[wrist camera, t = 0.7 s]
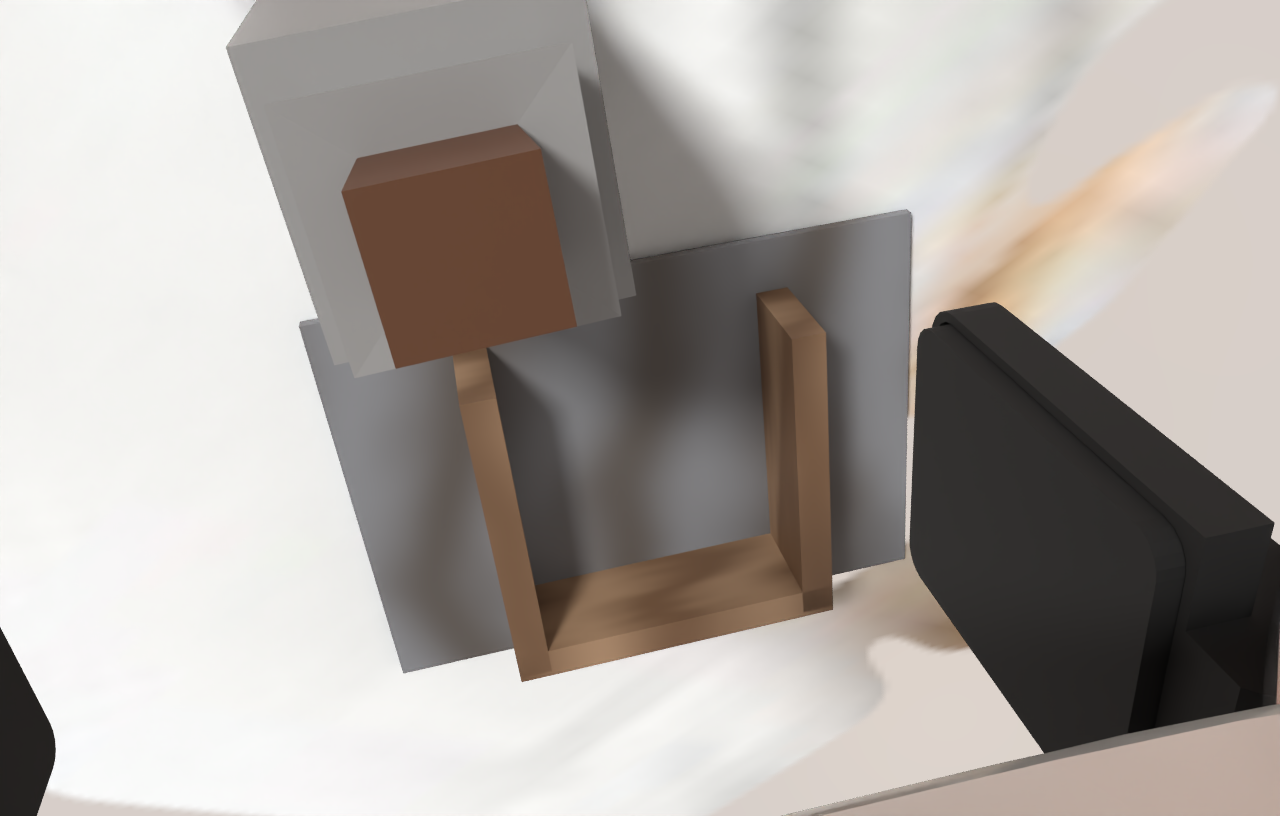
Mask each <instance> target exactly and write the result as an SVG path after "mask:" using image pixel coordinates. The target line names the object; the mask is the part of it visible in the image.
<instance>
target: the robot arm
mask: <svg viewBox="0 0 1280 816" xmlns="http://www.w3.org/2000/svg"><path fill="white" fill-rule="evenodd" d="M913 446H914V447H913V471H912V495H911V521H910V550H911V556H912V559H913V563H914V566H915V568H916V570H917V572H918V574H919V576H920V578H921V579H922V581H923V582H924V583H925V585H926V586H927V588H928V589H929V590H930V592H931V593H932V595H933V596H934V598H935V599H936V600H937V602H938V603H939V605H940V606H941V607H942V609H943V610H944V612H945V613H946V615H947V616H948V617H949V619H950V620H951V622H952V623H953V624H954V626H955V627H956V629H957V630H958V632H959V633H960V634H961V636H962V637H963V639H964V640H965V642H966V643H967V644H968V646H969V647H970V649H971V650H972V651H973V653H974V654H975V655H976V657H977V658H978V660H979V661H980V663H981V664H982V666H983V667H984V668H985V670H986V671H987V673H988V674H989V675H990V677H991V678H992V680H993V681H994V683H995V684H996V685H997V687H998V688H999V690H1000V691H1001V693H1002V694H1003V695H1004V697H1005V698H1006V700H1007V701H1008V702H1009V704H1010V705H1011V707H1012V708H1013V709H1014V711H1015V712H1016V714H1017V715H1018V717H1019V718H1020V720H1021V721H1022V722H1023V724H1024V725H1025V726H1026V728H1027V729H1028V730H1029V732H1030V734H1031V735H1032V737H1033V738H1034V739H1035V741H1036V742H1037V743H1038V745H1039V746H1040V748H1041V749H1042V751H1043V752H1044V754H1040V755H1036V756H1032V757H1027V758H1023V759H1017V760H1013V761H1009V762H1004V763H1000V764H995V765H991V766H987V767H982V768H978V769H974V770H970V771H966V772H962V773H957V774H954V775H949V776H945V777H941V778H937V779H932V780H928V781H924V782H920V783H916V784H912V785H907V786H903V787H899V788H895V789H891V790H887V791H882V792H878V793H874V794H871V795H866V796H862V797H857V798H853V799H849V800H845V801H841V802H837V803H832V804H828V805H824V806H820V807H816V808H811V809H808V810H803V811H799V812H795V813H791V814H787V815H782V816H1280V545H1279V544H1278V543H1276V542H1275V541H1274V540H1272V539H1271V535H1272V531H1273V527H1274V522H1273V521H1271V520H1270V519H1269V518H1268V517H1266V516H1265V515H1264V514H1263V513H1262V512H1260V511H1259V510H1258V509H1257V508H1255V507H1254V506H1253V505H1252V504H1250V503H1249V502H1248V501H1247V500H1245V499H1244V498H1243V497H1241V496H1240V495H1239V494H1238V493H1236V492H1235V491H1234V490H1232V489H1231V488H1230V487H1229V486H1228V485H1226V484H1225V483H1224V482H1223V481H1221V480H1220V479H1219V478H1218V477H1216V476H1215V475H1214V474H1213V473H1211V472H1210V471H1209V470H1207V469H1206V468H1205V467H1204V466H1203V465H1201V464H1200V463H1199V462H1197V461H1196V460H1195V459H1194V458H1192V457H1191V456H1190V455H1189V454H1187V453H1186V452H1185V451H1184V450H1182V449H1181V448H1180V447H1179V446H1177V445H1176V444H1175V443H1174V442H1172V441H1171V440H1170V439H1169V438H1167V437H1166V436H1165V435H1164V434H1162V433H1161V432H1160V431H1159V430H1157V429H1156V428H1155V427H1154V426H1152V425H1151V424H1150V423H1148V422H1147V421H1146V420H1145V419H1143V418H1142V417H1141V416H1140V415H1138V414H1137V413H1136V412H1135V411H1133V410H1132V409H1131V408H1130V407H1128V406H1127V405H1126V404H1124V403H1123V402H1122V401H1121V400H1120V399H1118V398H1117V397H1116V396H1115V395H1113V394H1112V393H1111V392H1110V391H1108V390H1107V389H1106V388H1105V387H1103V386H1102V385H1101V384H1099V383H1098V382H1097V381H1096V380H1094V379H1093V378H1092V377H1090V376H1089V375H1088V374H1087V373H1086V372H1084V371H1083V370H1082V369H1081V368H1079V367H1078V366H1077V365H1075V364H1074V363H1073V362H1072V361H1070V360H1069V359H1068V358H1067V357H1065V356H1064V355H1063V354H1062V353H1061V352H1059V351H1058V350H1057V349H1056V348H1054V347H1053V346H1052V345H1050V344H1049V343H1048V342H1047V341H1045V340H1044V339H1043V338H1042V337H1040V336H1039V335H1038V334H1037V333H1035V332H1034V331H1033V330H1032V329H1030V328H1029V327H1028V326H1027V325H1025V324H1024V323H1023V322H1022V321H1020V320H1019V319H1018V318H1017V317H1015V316H1014V315H1013V314H1012V313H1010V312H1009V311H1008V310H1006V309H1005V308H1004V307H1003V306H1001V305H999V304H997V303H995V302H993V303H987V304H981V305H976V306H971V307H965V308H960V309H954V310H949V311H943V312H940V313H939V314H938V315H937V316H936V317H935V320H934V322H933V325H932V328H928V329H924V330H923V331H922V332H921V333H920V336H919V338H918V346H917V370H916V395H915V420H914V445H913ZM55 752H56V748H55V738H54V734H53V730H52V727H51V725H50V722H49V720H48V718H47V717H46V715H45V713H44V711H43V709H42V707H41V705H40V703H39V701H38V699H37V697H36V695H35V693H34V691H33V690H32V688H31V686H30V684H29V682H28V680H27V678H26V676H25V674H24V672H23V670H22V668H21V666H20V664H19V663H18V661H17V659H16V657H15V655H14V653H13V651H12V649H11V647H10V645H9V643H8V641H7V639H6V637H5V636H4V634H3V632H2V630H1V628H0V816H37V813H38V810H39V807H40V805H41V802H42V799H43V796H44V793H45V790H46V787H47V784H48V781H49V778H50V775H51V772H52V769H53V766H54V762H55Z"/></svg>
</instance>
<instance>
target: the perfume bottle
mask: <svg viewBox="0 0 1280 816" xmlns="http://www.w3.org/2000/svg"><path fill="white" fill-rule="evenodd" d="M226 49H227V52H228V55H229V58H230V61H231V64H232V67H233V70H234V73H235V76H236V79H237V82H238V84H239V87H240V90H241V93H242V96H243V99H244V102H245V105H246V108H247V111H248V114H249V117H250V120H251V123H252V125H253V128H254V131H255V134H256V137H257V140H258V143H259V146H260V149H261V152H262V155H263V158H264V161H265V164H266V166H267V169H268V172H269V175H270V178H271V181H272V184H273V187H274V190H275V193H276V196H277V199H278V202H279V205H280V207H281V210H282V213H283V216H284V219H285V222H286V225H287V228H288V231H289V234H290V237H291V240H292V243H293V246H294V248H295V251H296V254H297V257H298V260H299V263H300V266H301V269H302V272H303V275H304V278H305V281H306V284H307V287H308V289H309V292H310V295H311V298H312V301H313V304H314V307H315V310H316V313H317V316H318V319H319V322H320V325H321V328H322V331H323V333H324V336H325V339H326V342H327V345H328V348H329V351H330V354H331V357H332V360H333V363H334V365H339V364H343V363H347V362H349V364H350V367H351V370H352V373H353V376H354V378H358V377H362V376H367V375H371V374H375V373H380V372H384V371H388V370H392V369H398V368H402V367H406V366H410V365H415V364H419V363H423V362H428V361H432V360H436V359H440V358H445V357H449V356H453V355H458V354H462V353H466V352H470V351H475V350H479V349H483V348H488V347H492V346H496V345H500V344H505V343H509V342H513V341H518V340H522V339H526V338H530V337H535V336H539V335H543V334H548V333H552V332H556V331H560V330H565V329H569V328H573V327H577V326H581V325H585V324H590V323H594V322H598V321H602V320H607V319H611V318H615V317H620V316H621V310H620V304H619V299H623V298H628V297H632V296H636V291H635V285H634V279H633V273H632V267H631V261H630V255H629V249H628V244H627V238H626V232H625V226H624V220H623V214H622V208H621V202H620V196H619V191H618V185H617V179H616V173H615V167H614V161H613V155H612V149H611V144H610V138H609V132H608V126H607V120H606V114H605V108H604V102H603V96H602V91H601V85H600V79H599V73H598V67H597V61H596V55H595V49H594V44H593V38H592V32H591V26H590V20H589V14H588V8H587V2H586V0H256V2H255V3H254V5H253V6H252V8H251V10H250V11H249V13H248V14H247V16H246V17H245V19H244V20H243V22H242V23H241V25H240V26H239V28H238V30H237V31H236V33H235V34H234V36H233V37H232V39H231V40H230V42H229V43H228V45H227V46H226Z"/></svg>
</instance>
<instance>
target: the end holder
mask: <svg viewBox="0 0 1280 816" xmlns="http://www.w3.org/2000/svg"><path fill="white" fill-rule="evenodd" d="M910 245H911V212H909V211H908V210H907V209H906V210H900V211H895V212H890V213H884V214H879V215H874V216H868V217H863V218H857V219H852V220H847V221H841V222H836V223H830V224H825V225H820V226H814V227H809V228H803V229H798V230H793V231H787V232H782V233H776V234H771V235H766V236H760V237H755V238H750V239H744V240H739V241H733V242H728V243H723V244H717V245H712V246H706V247H701V248H696V249H690V250H685V251H679V252H674V253H669V254H663V255H658V256H652V257H647V258H642V259H636V260H631V267H632V273H633V279H634V285H635V291H636V296H632V297H628V298H623V299H619V304H620V310H621V316H620V317H615V318H611V319H607V320H602V321H598V322H594V323H590V324H585V325H581V326H577V327H573V328H569V329H565V330H560V331H556V332H552V333H548V334H543V335H539V336H535V337H530V338H526V339H522V340H518V341H513V342H509V343H505V344H500V345H496V346H492V347H488V348H483V349H479V350H475V351H470V352H466V353H462V354H458V355H453V356H449V357H445V358H440V359H436V360H432V361H428V362H423V363H419V364H415V365H410V366H406V367H402V368H398V369H392V370H388V371H384V372H380V373H375V374H371V375H367V376H362V377H358V378H354V376H353V373H352V370H351V367H350V364H349V362H347V363H343V364H339V365H334V363H333V360H332V357H331V354H330V351H329V348H328V345H327V342H326V339H325V336H324V333H323V331H322V328H321V325H320V322H319V319H313V320H307V321H302V322H300V325H299V328H300V331H301V334H302V338H303V341H304V344H305V348H306V351H307V354H308V358H309V361H310V364H311V368H312V371H313V374H314V378H315V381H316V384H317V388H318V391H319V394H320V398H321V401H322V404H323V408H324V411H325V414H326V418H327V421H328V424H329V428H330V431H331V434H332V438H333V441H334V444H335V447H336V451H337V454H338V457H339V461H340V464H341V467H342V471H343V474H344V477H345V481H346V484H347V487H348V491H349V494H350V497H351V501H352V504H353V507H354V511H355V514H356V517H357V521H358V524H359V527H360V531H361V534H362V537H363V541H364V544H365V547H366V551H367V554H368V557H369V561H370V564H371V567H372V571H373V574H374V577H375V581H376V584H377V587H378V591H379V594H380V597H381V600H382V604H383V607H384V610H385V614H386V617H387V620H388V624H389V627H390V630H391V634H392V637H393V640H394V644H395V647H396V650H397V654H398V657H399V660H400V664H401V667H402V670H403V673H407V672H411V671H416V670H420V669H425V668H429V667H433V666H438V665H442V664H446V663H451V662H455V661H460V660H464V659H468V658H473V657H477V656H481V655H486V654H490V653H494V652H499V651H503V650H508V649H512V648H514V650H515V655H516V659H517V663H518V668H519V672H520V677H521V681H522V682H524V681H529V680H533V679H537V678H542V677H546V676H550V675H554V674H559V673H563V672H567V671H572V670H576V669H580V668H584V667H589V666H593V665H597V664H602V663H606V662H610V661H614V660H619V659H623V658H627V657H632V656H636V655H640V654H644V653H649V652H653V651H657V650H662V649H666V648H670V647H674V646H679V645H683V644H687V643H692V642H696V641H700V640H704V639H709V638H713V637H717V636H722V635H726V634H730V633H735V632H739V631H743V630H747V629H752V628H756V627H760V626H765V625H769V624H773V623H777V622H782V621H786V620H790V619H795V618H799V617H803V616H807V615H812V614H816V613H820V612H825V611H829V610H833V596H832V575H835V574H840V573H844V572H848V571H853V570H857V569H861V568H866V567H870V566H875V565H879V564H883V563H888V562H892V561H896V560H901V559H905V506H906V454H907V453H906V452H907V403H908V350H909V298H910Z"/></svg>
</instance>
